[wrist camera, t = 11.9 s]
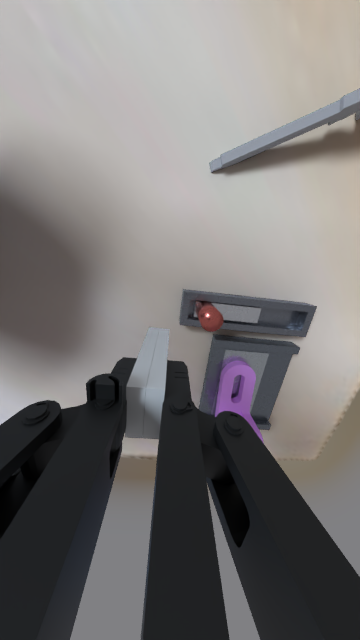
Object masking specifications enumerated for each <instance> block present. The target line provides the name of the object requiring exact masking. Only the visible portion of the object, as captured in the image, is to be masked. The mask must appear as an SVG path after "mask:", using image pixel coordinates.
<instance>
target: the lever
mask: <svg viewBox="0 0 360 640" xmlns="http://www.w3.org/2000/svg"><path fill="white" fill-rule="evenodd" d="M260 312H261V308H260V307H256V306H246V305H237V304H228V303H219V302H209V301H200V300H195V306H194V312H193V316H194V317H198V319H199V321H200V323H201V326H202V327H203V328H204V329H205V330H206V331H210V332H213V331H216V330H218V329H219V328H220V327H221V326H222V324H223V320H230V321H240V322H250V323H257V322H258V319H259V315H260Z"/></svg>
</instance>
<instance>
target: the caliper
mask: <svg viewBox="0 0 360 640" xmlns="http://www.w3.org/2000/svg"><path fill="white" fill-rule="evenodd" d="M355 112H356V120H358V119H360V88H359V89H357V90H355V91H353V92H351V93H349V94H347V95H345V96H343V97H342V98H341V99H340V100H338V101H336V102H334V103H332V104H330V105H327V106H325V107H323V108H321V109H319V110H317V111H314V112H312V113H310V114H308V115H306V116H304V117H301V118H299V119H297V120H295V121H293V122H290V123H288V124H286V125H284V126H282V127H280V128H277V129H275V130H273V131H271V132H269V133H267V134H264V135H262V136H260V137H258V138H256V139H254V140H251V141H249V142H247V143H245V144H243V145H241V146H239V147H236V148H234V149H232V150H230V151H228V152H226V153H223V154H221V155H220V157H219V158H217V159H215V160H213V161H211V162H210V163H209V164H210V169H211V172H214V171H216V170H218V169H223V168H225V167H228V166H231V165H234V164H236V163H238V162H240V161H243V160H245V159H247V158H249V157H252V156H254V155H256V154H258V153H261V152H263V151H265V150H267V149H270V148H272V147H274V146H276V145H279V144H281V143H283V142H286V141H288V140H290V139H292V138H295V137H297V136H299V135H302V134H304V133H306V132H308V131H311V130H313V129H315V128H317V127H320V126H322V125H324V124H327V123H328V125H331V124H333V123H335V122H337V121H339V120H342V119H344V118H346V117H348V116H350V115H352V114H354V113H355Z"/></svg>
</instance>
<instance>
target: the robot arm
mask: <svg viewBox="0 0 360 640" xmlns="http://www.w3.org/2000/svg"><path fill="white" fill-rule="evenodd" d="M168 342H169V329H163V328H153V327H149V329H148V332H147V335H146V337H145V340H144V342H143V345H142V347H141V350H140V352H139V355H138V358H125V357H123V358H122V359H121V360H119V361H118V362H117V363H116V365H115V367H114V369H113V370H112V372H111V374H102V375H98V376H95V377H93V378H92V379H90V380H89V381H88V382H87V383H86V391H87V402H86V404H83V405H80V406H76V407H71V408H66V409H61V407H60V405H59V403H57V402H55V401H50V400H46V401H40V402H37V403H34V404H31V405H29V406H27V407H26V408H24V409H22V410H21V411H19V412H18V413H16V414H15V415H14V416H12V417H11V418H10V419H8V420H7V421H5V422H4V423H3V424H1V425H0V640H70V637H71V633H72V630H73V626H74V622H75V619H76V615H77V612H78V608H79V604H80V601H81V597H82V593H83V590H84V586H85V583H86V579H87V575H88V571H89V567H90V564H91V561H92V557H93V554H94V550H95V546H96V542H97V539H98V535H99V532H100V528H101V524H102V521H103V517H104V514H105V510H106V506H107V503H108V499H109V495H110V492H111V488H112V484H113V481H114V477H115V473H116V470H117V466H118V462H119V459H120V455H121V452H122V440H123V437H124V433H125V437H128V438H148V439H159V445H158V454H157V464H156V465H157V466H156V477H155V488H154V499H153V510H152V521H151V532H150V543H149V554H148V566H147V577H146V587H145V598H144V610H143V621H142V631H141V640H229V634H228V627H227V620H226V613H225V606H224V599H223V592H222V585H221V578H220V572H219V565H218V558H217V551H216V544H215V537H214V530H213V523H212V516H211V510H210V503H209V496H208V489H207V484H208V487H209V490H210V493H211V496H212V499H213V502H214V505H215V508H216V511H217V514H218V516H219V519H220V522H221V525H222V528H223V531H224V534H225V537H226V540H227V543H228V546H229V549H230V551H231V555H232V558H233V560H234V563H235V566H236V569H237V572H238V575H239V578H240V581H241V584H242V587H243V590H244V593H245V596H246V599H247V602H248V604H249V607H250V610H251V613H252V616H253V619H254V622H255V625H256V628H257V631H258V634H259V637H260V640H360V577H359V576H358V574H357V573H356V572H355V570H354V569H353V567H352V566H351V564H350V563H349V562H348V560H347V559H346V558H345V556H344V555H343V553H342V552H341V551H340V549H339V548H338V546H337V545H336V544H335V542H334V541H333V539H332V538H331V537H330V535H329V534H328V532H327V531H326V530H325V528H324V527H323V526H322V524H321V523H320V521H319V520H318V519H317V517H316V516H315V514H314V513H313V512H312V510H311V509H310V507H309V506H308V505H307V503H306V502H305V501H304V499H303V498H302V496H301V495H300V493H299V492H298V491H297V490H296V488H295V487H294V485H293V484H292V482H291V481H290V480H289V478H288V477H287V475H286V474H285V473H284V471H283V470H282V468H281V467H280V466H279V464H278V463H277V462H276V460H275V459H274V457H273V456H272V455H271V453H270V452H269V450H268V449H267V448H266V446H265V445H264V443H263V442H262V441H261V439H260V438H259V436H258V435H257V434H256V432H255V431H254V430H253V428H252V427H251V425H250V424H249V423H248V422H247V421H246V419H245V418H244V417H242V416H241V415H239V414H237V413H235V412H232V411H223V412H220V413H219V414H218V415H217V416H216V417H214V416H211V415H209V414H206V413H204V412H202V411H200V410H199V409H197V408H196V407H195V405H194V403H193V402H192V399H191V392H190V385H189V377H188V369H187V366H186V365H185V363H184V362H181V361H169V360H167V356H168ZM206 481H207V482H206Z"/></svg>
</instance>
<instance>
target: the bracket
mask: <svg viewBox="0 0 360 640" xmlns="http://www.w3.org/2000/svg"><path fill="white" fill-rule="evenodd" d="M237 375H241V381H240V387H239V393H238V395H237V396H236V397H234V398H231V395H232V389H233V383H234V378H235V377H236V376H237ZM255 381H256V375H255V372H254V371H253V369H252V368H251V367H250V366H249V365H248V364H247V363H245V362H243V361H233V362H230V363H228V364H227V365H226V366H225V367H224V368H223V370H222V372H221V376H220V383H219V391H218V398H217V405H216V412H215V417H216V416H217V415H218V414H219V413H220V412H223V411H232V412H235V413H237V414H239V415H241V416H242V417H244V418H245V419H246V421H247V422H248V423H249V424H250V425H251V427H252V428H253V430H254V431H255V432H256V434H257V435H258V436H259V438H260V439H261V441H262V442H263V438H262V435H261V433H260V431H259V429H258V427H257V426H256V424H255V422H254V420H253V418H252V417H251V415H250V406H251V401H252V396H253V391H254V386H255Z"/></svg>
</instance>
